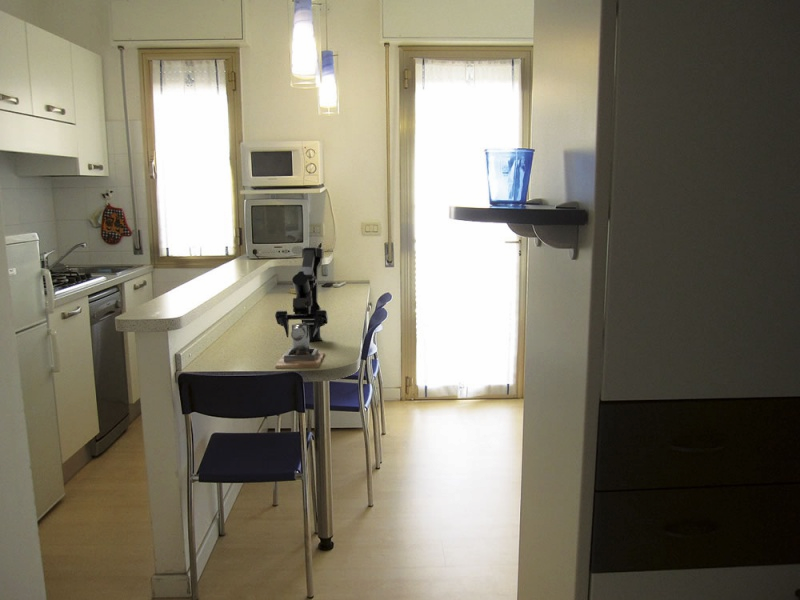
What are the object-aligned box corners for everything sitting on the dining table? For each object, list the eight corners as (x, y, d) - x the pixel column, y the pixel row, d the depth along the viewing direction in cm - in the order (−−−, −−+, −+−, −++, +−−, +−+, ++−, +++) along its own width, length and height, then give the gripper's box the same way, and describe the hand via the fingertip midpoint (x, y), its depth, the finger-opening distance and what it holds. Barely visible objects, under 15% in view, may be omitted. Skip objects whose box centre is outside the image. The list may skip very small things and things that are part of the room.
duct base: (284, 354, 242) (284, 347, 242) (324, 354, 242) (324, 346, 242) (275, 368, 225) (275, 359, 224) (318, 367, 224) (317, 359, 224)
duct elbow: (294, 355, 238) (293, 323, 236) (310, 354, 238) (309, 322, 236) (290, 362, 228) (288, 328, 226) (306, 362, 228) (305, 328, 226)
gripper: (274, 289, 234) (270, 325, 225) (325, 288, 234) (323, 324, 225) (280, 306, 243) (275, 341, 234) (328, 305, 243) (326, 340, 234)
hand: (300, 336), depth 232 cm, fingers open, 9 cm apart
